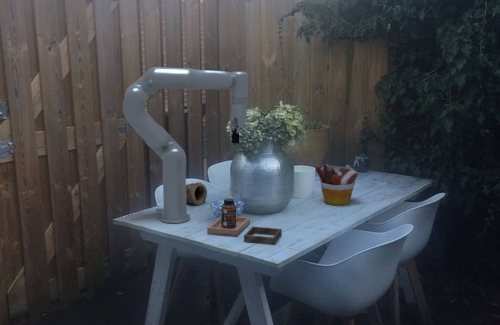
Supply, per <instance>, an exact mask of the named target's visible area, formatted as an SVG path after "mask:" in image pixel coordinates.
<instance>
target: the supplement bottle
mask: <svg viewBox="0 0 500 325" xmlns="http://www.w3.org/2000/svg"><path fill="white" fill-rule="evenodd" d="M220 214H221V215H220V217H221V224H222V227H223V228H234V227H236V216H237V205H236V204H235V199H234V198H231V197H230V198H229V197H227V198H224V199H223V203H222V205H221V213H220Z"/></svg>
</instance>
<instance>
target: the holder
mask: <svg viewBox="0 0 500 325" xmlns="http://www.w3.org/2000/svg"><path fill="white" fill-rule="evenodd" d="M282 230H283V229H282V228H274V227H262V226H251V227H250V228H249V229H248V231H246V233H245V234H243V242H244V243H252V244H262V245H270V246H271V245H272V246H275V245H276V244H277V242H278V241H279V239H280V238H281V237H282ZM255 234H257V235H255ZM258 234H259V235H258ZM261 235H270V236H261ZM272 236H273V237H272Z"/></svg>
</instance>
